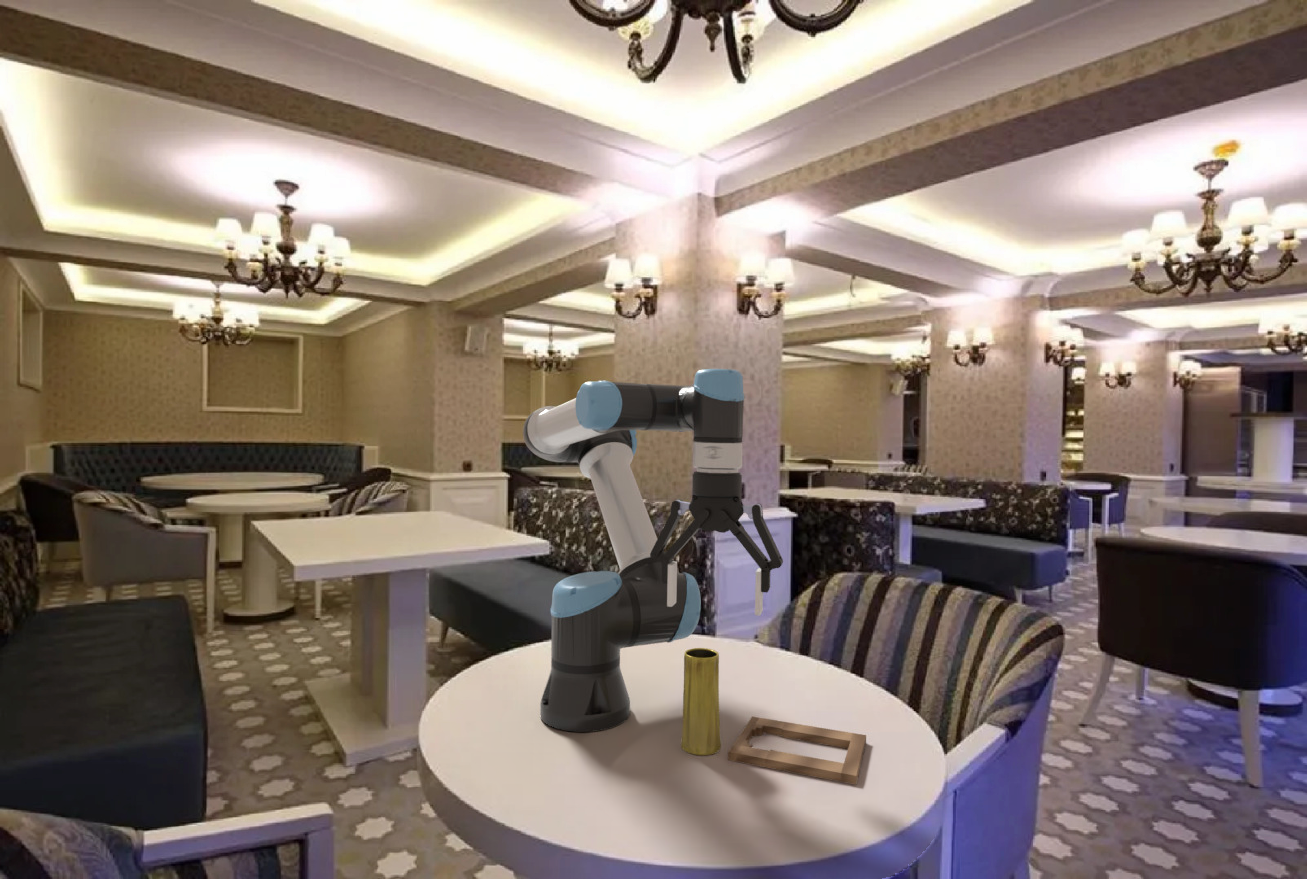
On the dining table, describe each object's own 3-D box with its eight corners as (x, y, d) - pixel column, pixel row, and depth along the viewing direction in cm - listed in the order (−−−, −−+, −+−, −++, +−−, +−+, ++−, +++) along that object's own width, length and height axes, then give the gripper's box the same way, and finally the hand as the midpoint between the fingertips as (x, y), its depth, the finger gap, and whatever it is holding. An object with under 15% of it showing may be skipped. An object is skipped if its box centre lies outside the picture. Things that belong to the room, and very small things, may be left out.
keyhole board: (728, 759, 99) (728, 751, 99) (752, 723, 112) (752, 716, 112) (856, 784, 92) (856, 775, 92) (866, 742, 105) (866, 735, 105)
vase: (718, 757, 100) (719, 660, 100) (677, 753, 101) (678, 657, 101) (723, 740, 106) (723, 648, 106) (684, 736, 107) (684, 645, 107)
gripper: (632, 468, 104) (629, 606, 104) (797, 475, 97) (794, 623, 97) (647, 466, 111) (644, 595, 112) (802, 472, 104) (799, 610, 104)
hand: (714, 608), depth 104 cm, fingers open, 13 cm apart
